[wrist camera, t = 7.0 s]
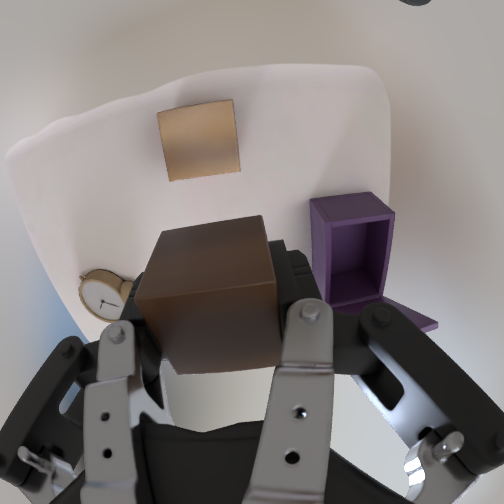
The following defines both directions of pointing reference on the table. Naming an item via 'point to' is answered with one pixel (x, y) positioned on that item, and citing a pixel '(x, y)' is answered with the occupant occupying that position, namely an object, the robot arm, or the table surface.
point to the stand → (199, 140)
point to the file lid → (415, 317)
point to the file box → (350, 246)
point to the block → (213, 297)
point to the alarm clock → (104, 295)
